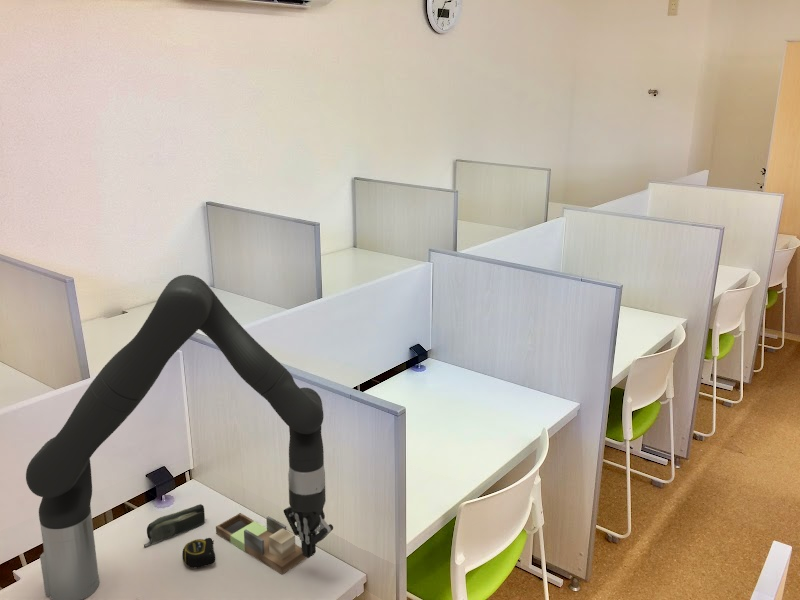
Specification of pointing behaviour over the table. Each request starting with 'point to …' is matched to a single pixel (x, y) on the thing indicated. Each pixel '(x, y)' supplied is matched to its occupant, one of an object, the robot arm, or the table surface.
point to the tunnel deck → (260, 542)
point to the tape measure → (199, 553)
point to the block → (282, 543)
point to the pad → (238, 536)
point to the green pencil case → (175, 524)
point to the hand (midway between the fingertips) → (308, 555)
